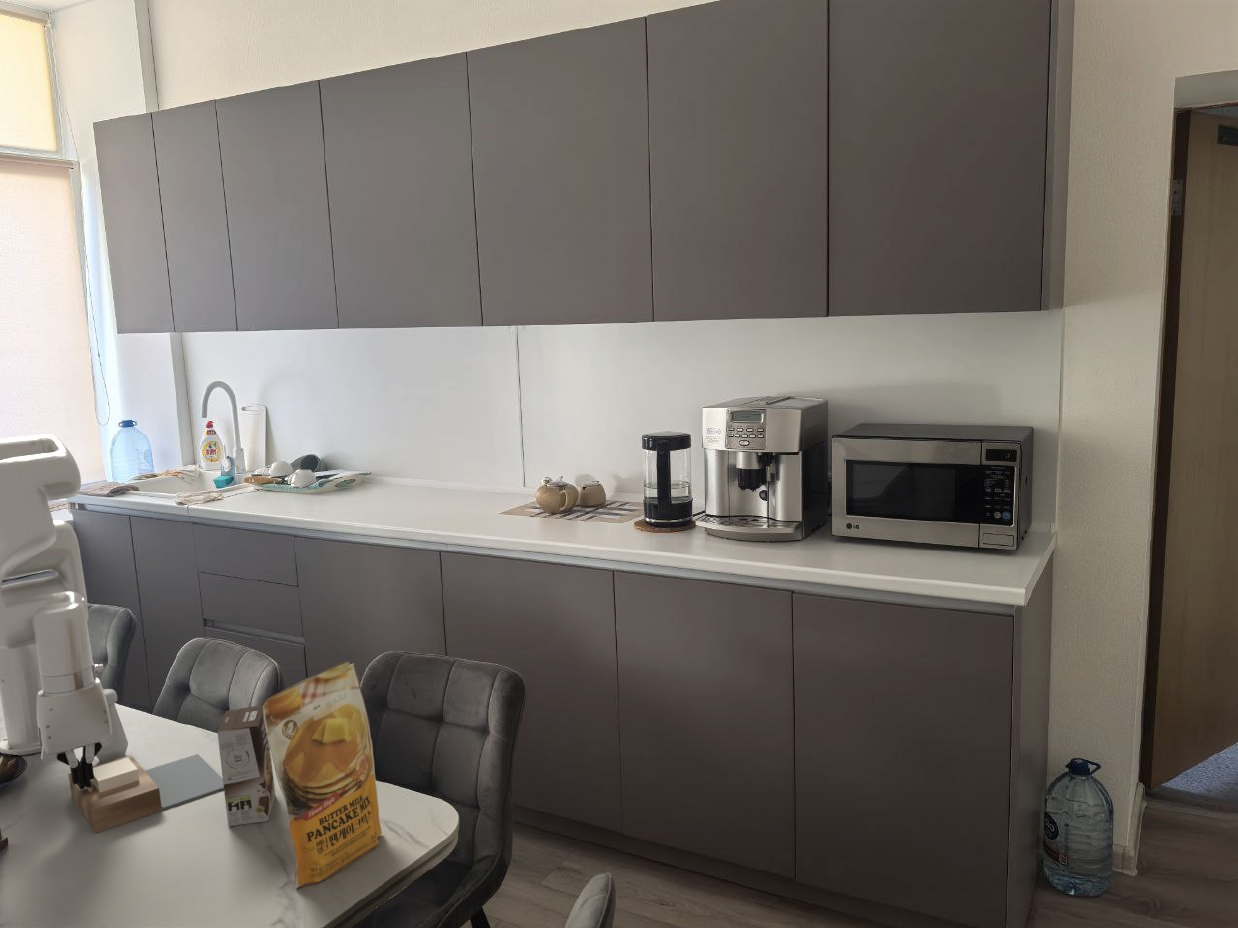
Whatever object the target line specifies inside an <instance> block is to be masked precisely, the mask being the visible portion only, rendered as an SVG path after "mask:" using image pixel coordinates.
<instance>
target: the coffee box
mask: <svg viewBox="0 0 1238 928" xmlns="http://www.w3.org/2000/svg"><path fill="white" fill-rule="evenodd" d="M262 707H263V705H257V706H256V705H255V706H249V707H244V708H243V707H242V708H239V709H231V710H226V711H225V713H224V715H223V718H222V720H221V722H220V724H219V727H218V730H217V739H218V749H219V756H220V757H219V759H220V766H221V768H220V769H221V774H222V776H221V777H222V778H223V785H224V790H223V791H224V800H225V802H224V803H225V808H226V817H227V826H228V827H232V826H233V827H234V826H241V825H248V824H257V823H262V822H263V823H265V822H268V821H269V820H270V815H271V811H272V808H273V804H274V802H275V801H274V800H275V797H276V790H275V780H274V779H275V778H274V770H273V762H272V761H273V760H272V753H271V749H270V746H269V744H268V741H267V737H266V732H265V727H264V722H263V715H262Z"/></svg>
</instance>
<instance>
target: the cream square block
mask: <svg viewBox="0 0 1238 928" xmlns="http://www.w3.org/2000/svg"><path fill="white" fill-rule="evenodd" d="M93 773H94V779H91V781H92V782H93V784H94V785H95V786H96V788H97V789H98V791H99V792H100V793H101V792H104V791H107V790H110V789H113V788H116V787H119V786H122V785H126V784H129V783H132V782H135V781H138V780H139V775H138V769H137V768H136V766H135V765H134V764H133V763H132V762H131V760H130V759H129V758H125V759H121V760H118V761H115V762H112V763H108V764H105V765H102V766H98V767H95V768H93Z"/></svg>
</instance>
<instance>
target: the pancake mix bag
mask: <svg viewBox="0 0 1238 928" xmlns="http://www.w3.org/2000/svg"><path fill="white" fill-rule="evenodd" d="M262 706H263V707H262V715H263V722H264V727H265V732H266V737H267V741H268V744H269V746H270V753H271V759H272V761H273V762H272V763H273V767H274V771H275V775H276V780H277V782H278V783H277V784H278V785H279V789H280V791H281V794H282V796H283V800H284V802H285V807H286V814H287V820H288V821H287V822H288V830H289V835H290V837H291V840H292V843H293V846H294V847H293V848H294V853H295V859H296V868H295V869H296V870H295V875H294V878H295V879H294V883H295V885H294V886H295V887H294V888H295V889H299V888H301V887H302V886H304V885H314V884H319V883H321V882H323V881H325V880H327V879H330V877H332V876H334V875H335V874H337V873H338V872H340V871H342V870H344V869H345V868H346V867H348V866H349V865H351V864H352V863H354V862H355V861H357V860H358V859H360V858H361V857H363V856H365V855H367V854H368V853H369V852H371V851H373V850H374V849H375V848H377V847H378V846H379V845H380V841H379V837H380V836H382V834H383V830H382V826H381V823H380V817H379V815H380V814H379V813H380V812H379V799H378V787H377V782H376V781H377V780H376V771H375V759H374V749H373V746H374V745H373V740H372V737H371V736H372V735H371V726H370V721H369V720H370V719H369V716H368V712H367V708H366V703H365V699H364V696H363V692H362V687H361V683H360V678H359V676H358V672H357V669H356V666H355V663H350V660H346V661H342V662H340V663H338V664H336V665H334V666H331V667H329V668H328V669H325V670H323V671H322V672H320V673H317V674H314V675H312V676H310V677H306V678H305V679H303V680H300V681H299V682H297V683H295V684H293V685H291V686H289V687H287V688H285V689H283V690H281V691H279V692H277V693H275V694H273V695H271V696H270V697H268V698H266V700H265V702H264V703H263V705H262Z"/></svg>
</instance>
